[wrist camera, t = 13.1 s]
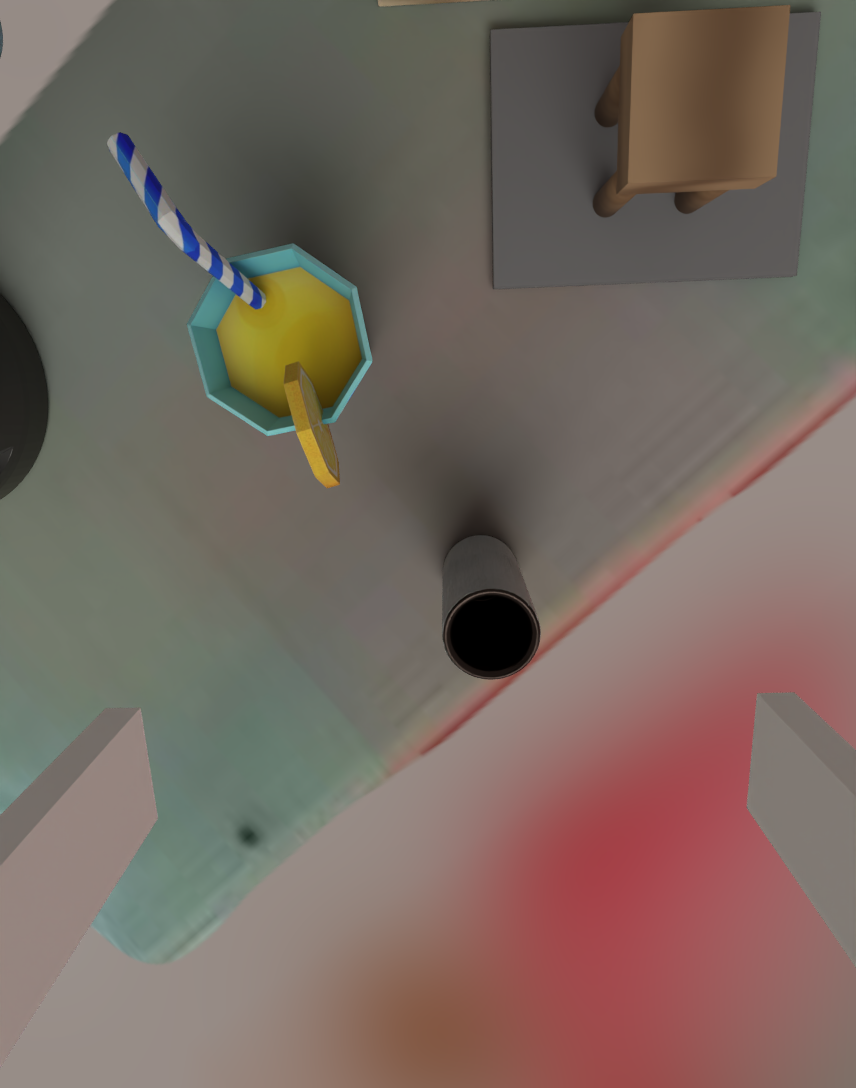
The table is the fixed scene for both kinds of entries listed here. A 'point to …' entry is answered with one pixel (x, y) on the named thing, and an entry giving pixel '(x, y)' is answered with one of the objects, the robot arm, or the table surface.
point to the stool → (695, 104)
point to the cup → (267, 329)
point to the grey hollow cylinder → (487, 610)
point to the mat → (591, 159)
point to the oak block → (417, 2)
